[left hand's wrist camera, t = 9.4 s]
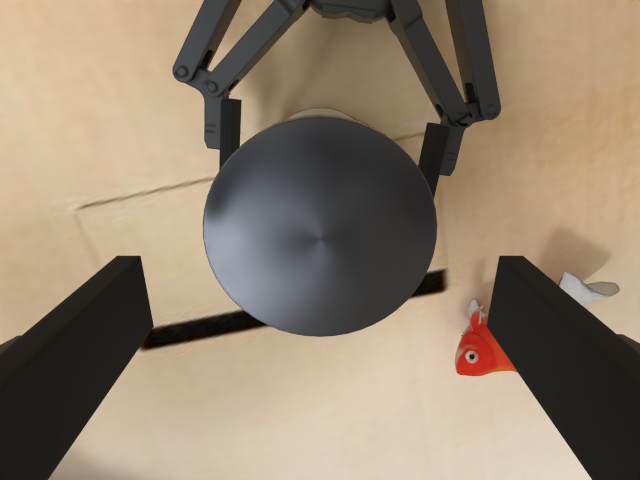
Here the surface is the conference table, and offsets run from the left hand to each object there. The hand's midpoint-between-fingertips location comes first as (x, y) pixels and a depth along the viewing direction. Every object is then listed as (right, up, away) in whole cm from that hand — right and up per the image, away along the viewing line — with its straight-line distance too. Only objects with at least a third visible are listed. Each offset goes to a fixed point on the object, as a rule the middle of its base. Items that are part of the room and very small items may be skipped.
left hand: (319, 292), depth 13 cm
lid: (0, +2, +5) cm, 5 cm away
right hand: (0, +4, +15) cm, 15 cm away
